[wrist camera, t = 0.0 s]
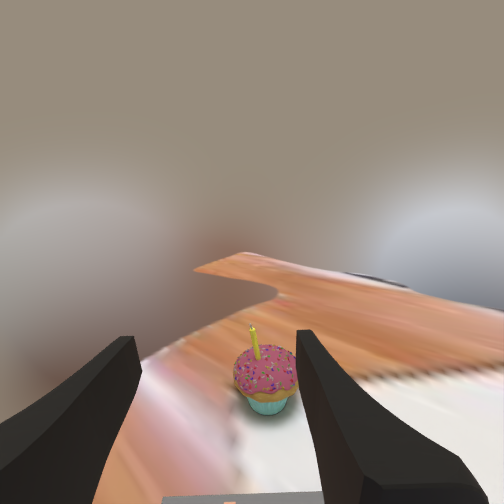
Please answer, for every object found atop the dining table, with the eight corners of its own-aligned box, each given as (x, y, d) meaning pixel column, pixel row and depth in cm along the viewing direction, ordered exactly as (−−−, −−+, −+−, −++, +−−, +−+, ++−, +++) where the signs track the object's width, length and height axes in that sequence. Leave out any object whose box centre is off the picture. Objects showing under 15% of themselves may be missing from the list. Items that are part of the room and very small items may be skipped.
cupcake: (254, 441, 32) (250, 349, 28) (224, 390, 39) (218, 312, 35) (314, 409, 36) (317, 325, 32) (277, 368, 43) (276, 296, 39)
